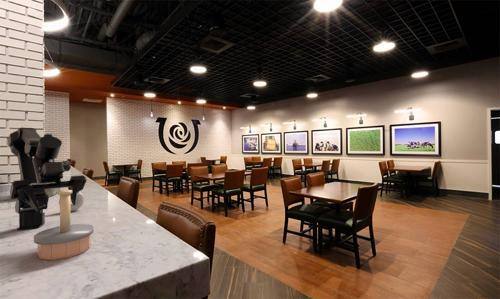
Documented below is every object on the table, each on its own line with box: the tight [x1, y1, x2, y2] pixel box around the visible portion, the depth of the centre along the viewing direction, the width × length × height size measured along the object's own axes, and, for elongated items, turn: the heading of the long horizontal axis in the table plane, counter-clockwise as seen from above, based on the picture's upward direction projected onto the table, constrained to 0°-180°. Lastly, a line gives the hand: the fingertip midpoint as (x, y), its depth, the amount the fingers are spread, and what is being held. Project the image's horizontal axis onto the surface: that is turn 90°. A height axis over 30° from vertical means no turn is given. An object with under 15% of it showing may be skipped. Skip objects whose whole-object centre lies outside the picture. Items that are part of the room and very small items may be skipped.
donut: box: [58, 191, 85, 212], centre depth 119 cm, size 10×4×10 cm, turn 134°
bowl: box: [37, 234, 92, 261], centre depth 73 cm, size 12×12×4 cm
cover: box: [33, 189, 95, 245], centre depth 73 cm, size 14×14×13 cm
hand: (57, 207), depth 77 cm, fingers open, 9 cm apart
